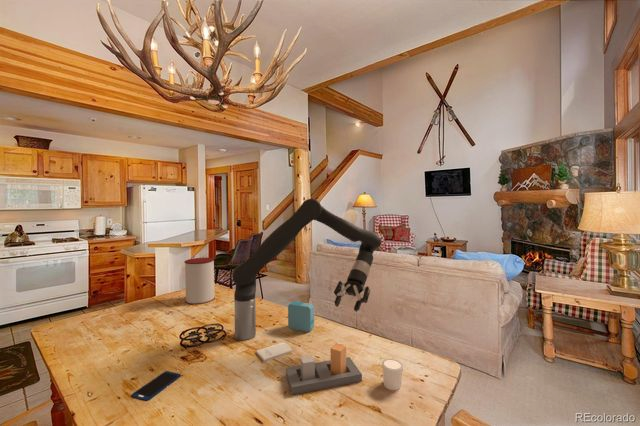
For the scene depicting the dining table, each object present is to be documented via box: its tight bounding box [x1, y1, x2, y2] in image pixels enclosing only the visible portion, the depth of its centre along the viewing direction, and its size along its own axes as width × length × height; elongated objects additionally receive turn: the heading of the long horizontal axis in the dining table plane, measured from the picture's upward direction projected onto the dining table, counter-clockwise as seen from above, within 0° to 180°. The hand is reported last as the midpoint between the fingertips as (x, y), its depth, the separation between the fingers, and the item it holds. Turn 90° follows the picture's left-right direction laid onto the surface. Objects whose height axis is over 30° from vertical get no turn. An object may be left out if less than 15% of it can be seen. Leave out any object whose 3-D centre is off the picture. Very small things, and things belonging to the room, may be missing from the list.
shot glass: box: [381, 358, 404, 391], centre depth 94 cm, size 7×7×7 cm
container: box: [184, 257, 216, 305], centre depth 177 cm, size 17×17×25 cm
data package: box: [287, 300, 315, 333], centre depth 136 cm, size 12×4×12 cm, turn 66°
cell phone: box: [130, 370, 182, 402], centre depth 94 cm, size 7×14×1 cm, turn 162°
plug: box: [330, 342, 347, 375], centre depth 99 cm, size 4×4×10 cm
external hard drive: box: [255, 341, 293, 363], centre depth 114 cm, size 2×8×12 cm
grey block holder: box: [285, 354, 363, 396], centre depth 97 cm, size 24×11×8 cm, turn 106°
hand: (345, 308), depth 111 cm, fingers open, 8 cm apart
